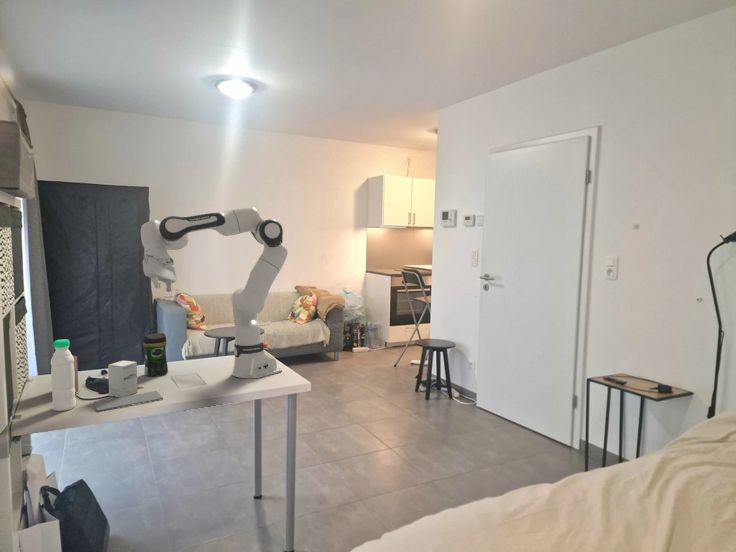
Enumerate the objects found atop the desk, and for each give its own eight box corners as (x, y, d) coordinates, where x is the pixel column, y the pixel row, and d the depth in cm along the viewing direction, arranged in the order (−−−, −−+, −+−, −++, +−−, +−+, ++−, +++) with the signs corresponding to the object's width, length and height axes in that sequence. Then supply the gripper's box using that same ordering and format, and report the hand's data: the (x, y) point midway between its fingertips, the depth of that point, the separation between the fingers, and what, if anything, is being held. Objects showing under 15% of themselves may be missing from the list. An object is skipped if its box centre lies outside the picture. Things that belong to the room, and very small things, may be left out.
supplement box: (123, 398, 180) (122, 366, 179) (108, 396, 182) (107, 364, 181) (138, 392, 187) (137, 361, 186) (123, 390, 189) (123, 359, 188)
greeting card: (52, 391, 187) (50, 354, 186) (73, 387, 192) (72, 351, 191) (57, 398, 179) (55, 360, 177) (79, 394, 184) (78, 357, 182)
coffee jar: (165, 370, 217) (164, 331, 216) (169, 374, 211) (168, 334, 209) (142, 373, 212) (141, 333, 210) (146, 378, 205) (144, 336, 204)
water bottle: (47, 411, 166) (44, 341, 164) (63, 404, 173) (60, 337, 171) (65, 412, 165) (62, 342, 163) (80, 405, 172) (77, 338, 170)
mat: (156, 392, 187) (156, 390, 187) (163, 399, 179) (163, 397, 179) (93, 403, 174) (93, 402, 174) (97, 411, 166) (97, 410, 166)
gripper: (150, 250, 184) (157, 282, 181) (175, 261, 204) (182, 291, 201) (135, 254, 184) (142, 287, 181) (162, 265, 204) (168, 295, 201)
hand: (163, 289), depth 191 cm, fingers open, 8 cm apart
